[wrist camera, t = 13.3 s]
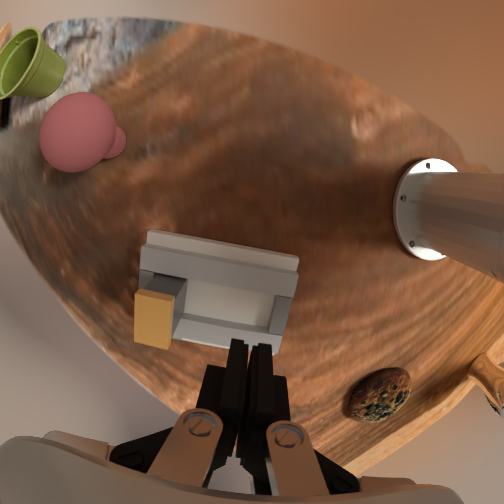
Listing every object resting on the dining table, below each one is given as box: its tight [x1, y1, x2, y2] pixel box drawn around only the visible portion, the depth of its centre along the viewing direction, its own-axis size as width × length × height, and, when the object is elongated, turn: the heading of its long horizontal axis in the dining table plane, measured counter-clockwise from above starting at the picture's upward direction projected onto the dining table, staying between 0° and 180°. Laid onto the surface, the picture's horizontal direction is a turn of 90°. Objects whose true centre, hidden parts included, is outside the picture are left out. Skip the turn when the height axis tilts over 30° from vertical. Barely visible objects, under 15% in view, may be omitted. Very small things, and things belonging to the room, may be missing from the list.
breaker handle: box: [134, 273, 188, 350], centre depth 26 cm, size 3×5×7 cm
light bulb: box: [39, 92, 126, 173], centre depth 21 cm, size 7×7×12 cm
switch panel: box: [138, 229, 299, 356], centre depth 30 cm, size 16×12×3 cm
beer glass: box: [467, 353, 504, 420], centre depth 29 cm, size 7×7×15 cm
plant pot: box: [0, 27, 66, 100], centre depth 20 cm, size 9×9×9 cm
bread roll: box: [349, 368, 412, 423], centre depth 34 cm, size 11×11×5 cm
